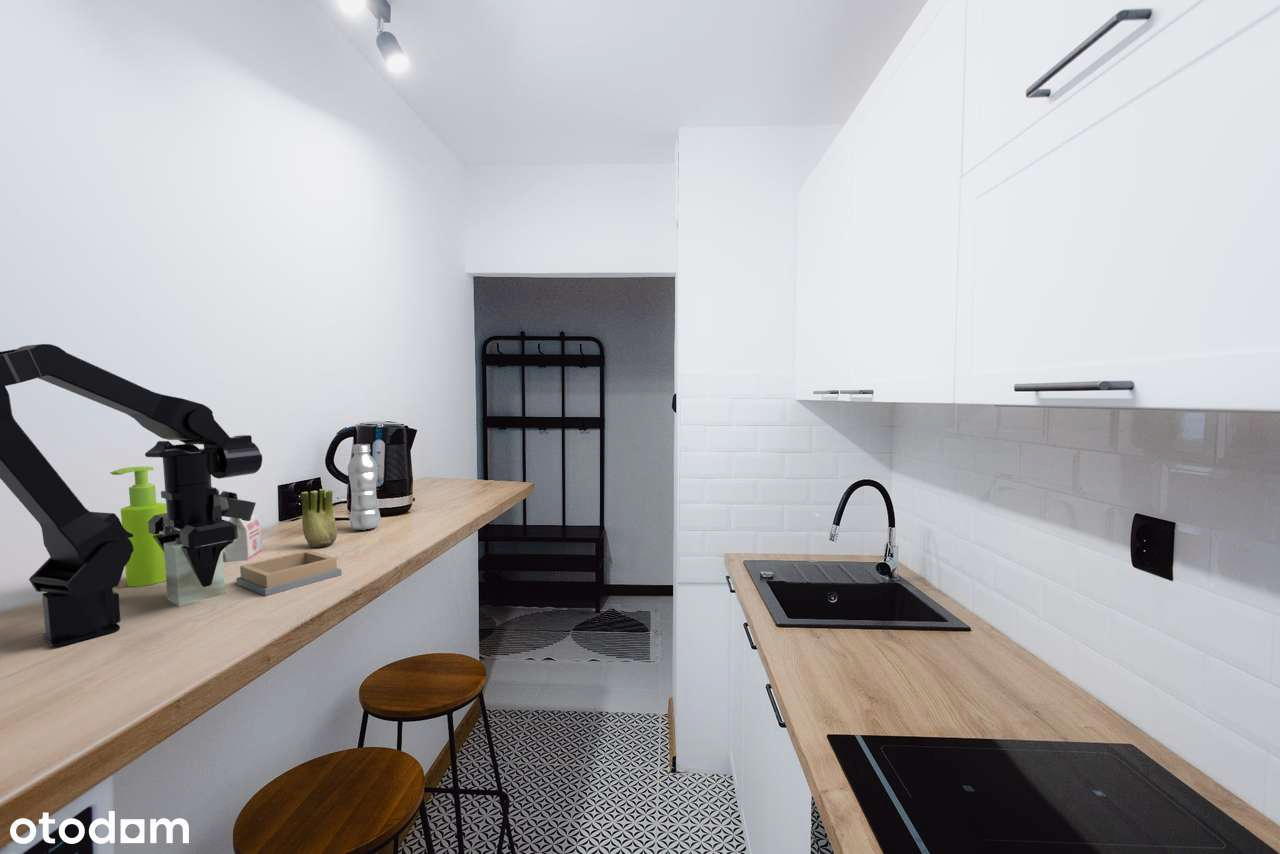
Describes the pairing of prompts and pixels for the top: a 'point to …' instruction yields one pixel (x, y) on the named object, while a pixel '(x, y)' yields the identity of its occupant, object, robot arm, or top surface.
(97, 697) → the top surface
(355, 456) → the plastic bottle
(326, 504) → the fennel bulb
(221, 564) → the cabinet block
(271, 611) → the top surface
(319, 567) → the rectangular tray
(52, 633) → the robot arm
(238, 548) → the milk carton
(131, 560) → the soap dispenser
